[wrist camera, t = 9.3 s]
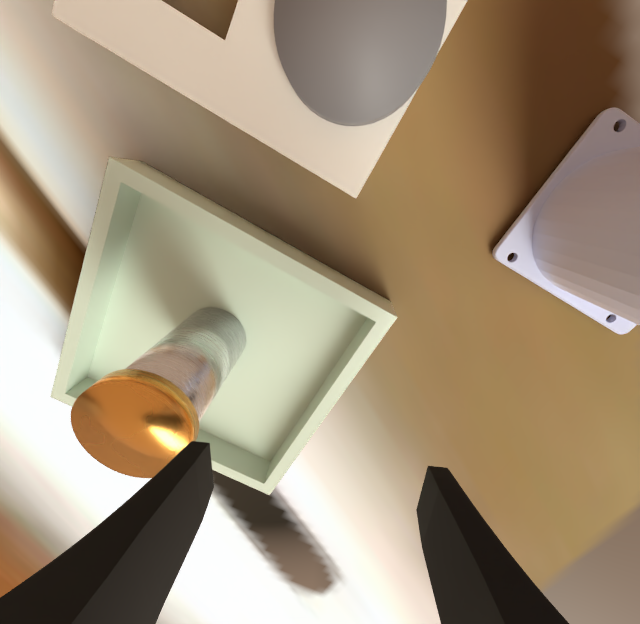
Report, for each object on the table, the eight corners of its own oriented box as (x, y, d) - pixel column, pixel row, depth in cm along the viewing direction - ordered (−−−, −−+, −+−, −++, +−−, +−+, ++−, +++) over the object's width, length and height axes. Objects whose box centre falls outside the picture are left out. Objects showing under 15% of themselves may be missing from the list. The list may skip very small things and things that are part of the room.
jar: (253, 309, 19) (187, 396, 11) (248, 372, 21) (188, 486, 13) (179, 296, 19) (61, 373, 11) (180, 360, 21) (79, 466, 13)
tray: (390, 301, 19) (397, 317, 16) (276, 466, 24) (269, 495, 22) (141, 160, 17) (108, 156, 14) (80, 375, 22) (50, 396, 20)
